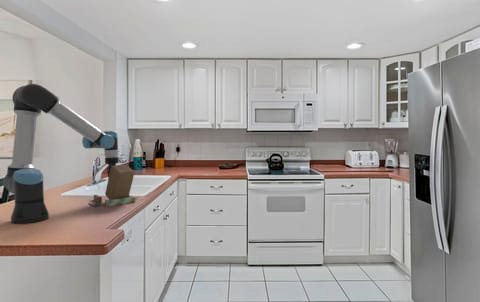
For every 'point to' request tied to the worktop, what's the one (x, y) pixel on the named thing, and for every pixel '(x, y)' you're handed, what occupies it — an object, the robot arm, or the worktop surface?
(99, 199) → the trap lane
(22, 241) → the worktop surface
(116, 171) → the block
